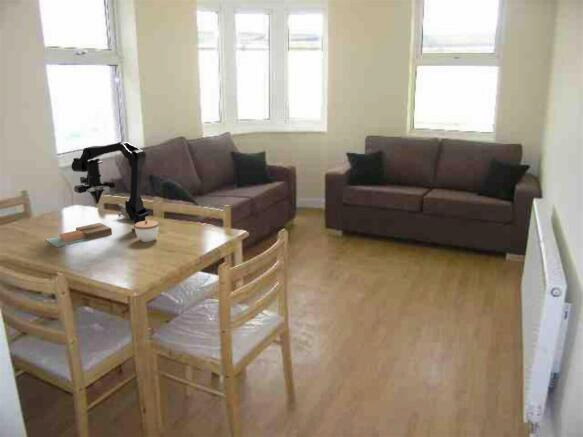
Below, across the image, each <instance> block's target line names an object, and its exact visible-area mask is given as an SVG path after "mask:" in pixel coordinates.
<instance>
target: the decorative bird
mask: <svg viewBox="0 0 583 437" xmlns="http://www.w3.org/2000/svg"><path fill="white" fill-rule="evenodd" d="M118 206H119V207H120V213H119V214H118V217H120V218H121V217H123V218H125V219H127V220H130V218H129V215H128V213H127V212H126V209H125V206H126V205H125V204H123V203H119V204H118ZM138 215H139V214H138Z"/></svg>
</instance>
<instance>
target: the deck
mask: <svg viewBox="0 0 583 437" xmlns="http://www.w3.org/2000/svg"><path fill="white" fill-rule="evenodd" d="M77 230H80V231H82V232H84V236H85V239H87V240H86V241H89V240H93V239H97V238H102V237H106V236H110V235H113V231H112V228H111V227H110V226H108V225H106V224H104V223H101V222H98V223H97V222H96V223H93V224H92V223H91V224H88V225H83V226H78V227H75V231H77Z"/></svg>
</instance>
